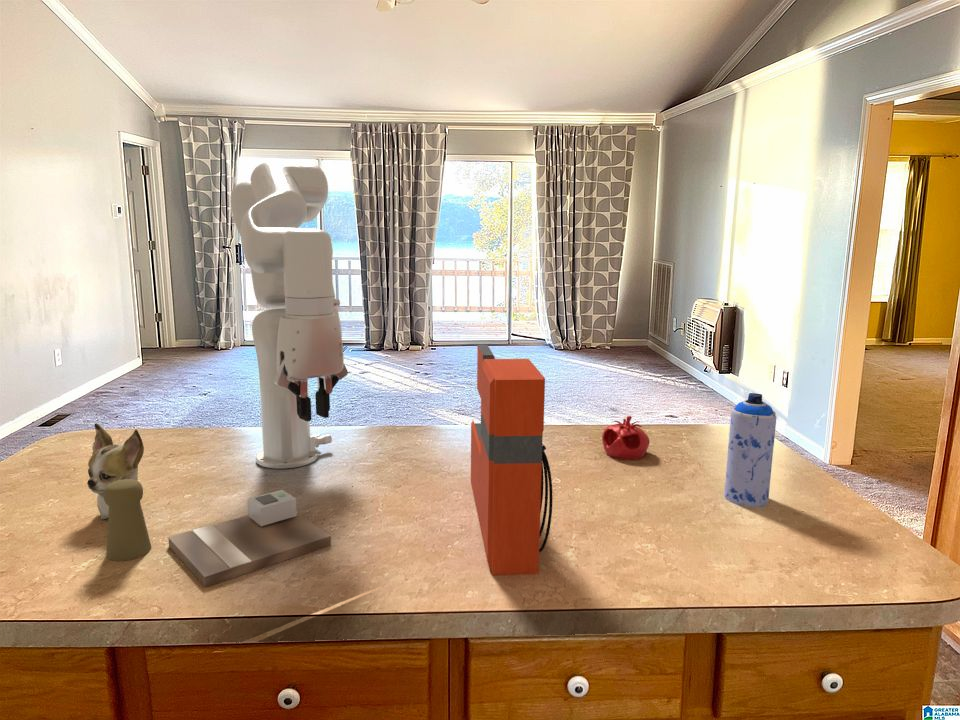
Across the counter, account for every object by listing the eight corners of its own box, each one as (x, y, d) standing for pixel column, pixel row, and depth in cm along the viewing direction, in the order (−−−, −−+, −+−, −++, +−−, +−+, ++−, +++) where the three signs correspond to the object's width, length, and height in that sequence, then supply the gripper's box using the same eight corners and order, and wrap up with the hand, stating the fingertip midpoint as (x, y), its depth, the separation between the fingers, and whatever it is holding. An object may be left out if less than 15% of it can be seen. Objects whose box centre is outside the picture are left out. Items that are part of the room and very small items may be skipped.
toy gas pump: (516, 482, 129) (519, 337, 124) (554, 572, 95) (561, 379, 90) (467, 483, 128) (469, 338, 123) (488, 575, 94) (491, 380, 89)
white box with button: (283, 506, 112) (282, 488, 111) (296, 515, 108) (295, 497, 108) (248, 516, 108) (247, 497, 107) (261, 526, 104) (260, 507, 104)
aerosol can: (769, 497, 123) (780, 392, 119) (768, 512, 116) (779, 401, 112) (724, 489, 126) (733, 387, 122) (720, 504, 119) (729, 396, 115)
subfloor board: (285, 512, 114) (285, 504, 114) (330, 544, 102) (330, 535, 102) (169, 546, 101) (168, 536, 101) (205, 587, 90) (204, 576, 90)
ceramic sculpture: (70, 518, 111) (60, 432, 108) (115, 499, 119) (107, 418, 116) (117, 529, 107) (108, 440, 104) (160, 509, 115) (153, 425, 112)
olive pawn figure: (160, 545, 102) (154, 477, 100) (128, 564, 96) (121, 492, 94) (130, 539, 104) (123, 472, 101) (96, 557, 98) (88, 486, 96)
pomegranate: (613, 446, 151) (615, 407, 149) (655, 455, 145) (658, 414, 144) (593, 458, 143) (595, 416, 141) (637, 468, 138) (640, 424, 136)
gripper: (342, 302, 115) (345, 405, 118) (251, 308, 104) (257, 421, 108) (365, 306, 109) (367, 414, 113) (271, 313, 99) (277, 432, 102)
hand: (313, 416), depth 110 cm, fingers closed
